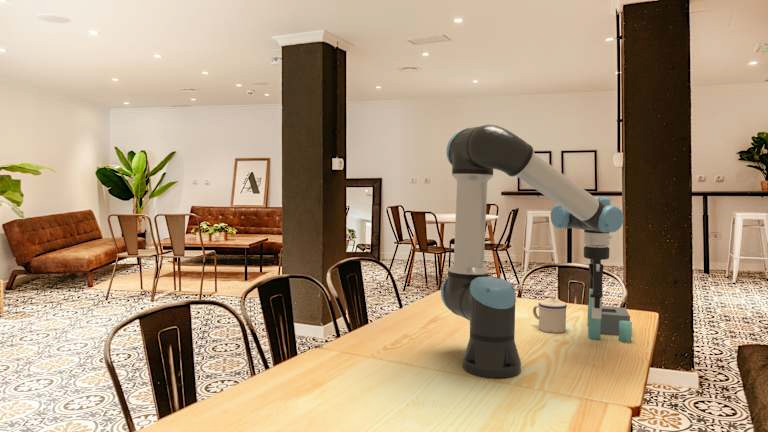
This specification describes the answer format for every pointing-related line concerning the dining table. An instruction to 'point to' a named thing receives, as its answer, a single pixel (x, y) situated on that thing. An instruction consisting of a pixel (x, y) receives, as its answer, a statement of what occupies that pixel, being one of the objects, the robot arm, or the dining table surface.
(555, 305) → the teacup with lid
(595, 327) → the long pin
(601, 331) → the hole block
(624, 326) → the short pin
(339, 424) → the dining table surface
